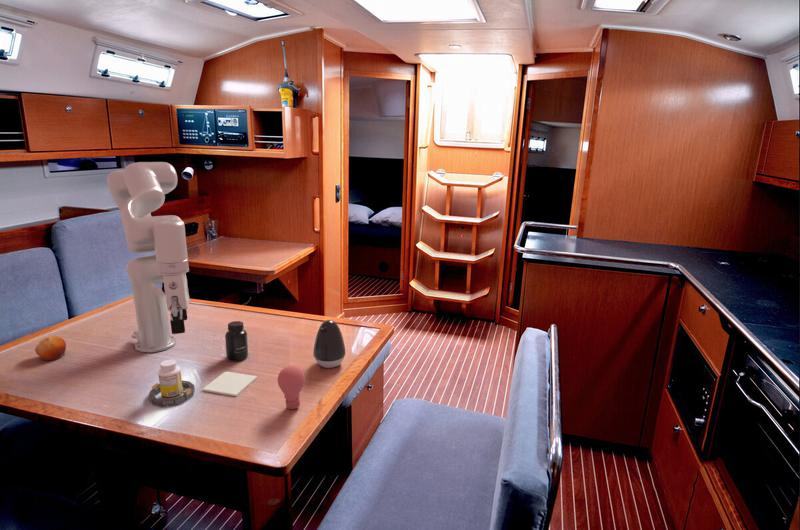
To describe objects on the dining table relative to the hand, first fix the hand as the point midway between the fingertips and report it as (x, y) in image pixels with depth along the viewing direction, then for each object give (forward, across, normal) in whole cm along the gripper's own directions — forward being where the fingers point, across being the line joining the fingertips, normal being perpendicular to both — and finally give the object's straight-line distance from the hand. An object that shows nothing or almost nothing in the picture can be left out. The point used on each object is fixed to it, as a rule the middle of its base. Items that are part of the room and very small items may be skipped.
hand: (179, 326), depth 129 cm
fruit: (+20, +37, +42) cm, 59 cm away
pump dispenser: (+20, +4, -42) cm, 47 cm away
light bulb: (+20, -18, -27) cm, 38 cm away
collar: (+20, -1, +4) cm, 20 cm away
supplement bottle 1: (+20, -1, +4) cm, 21 cm away
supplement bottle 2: (+20, +18, -14) cm, 31 cm away
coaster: (+20, 0, -12) cm, 23 cm away
